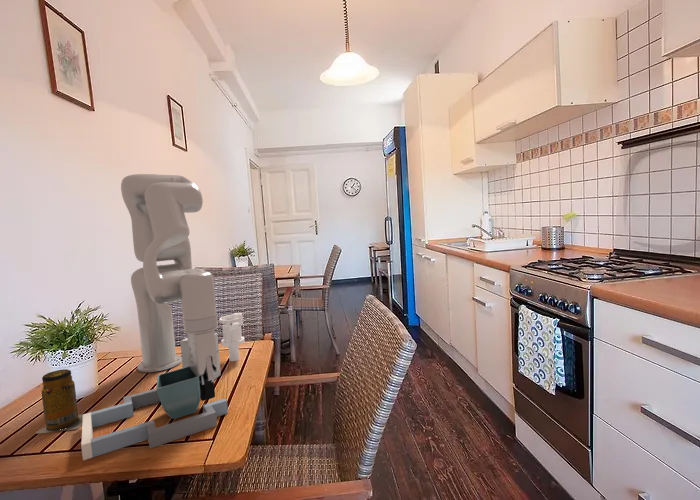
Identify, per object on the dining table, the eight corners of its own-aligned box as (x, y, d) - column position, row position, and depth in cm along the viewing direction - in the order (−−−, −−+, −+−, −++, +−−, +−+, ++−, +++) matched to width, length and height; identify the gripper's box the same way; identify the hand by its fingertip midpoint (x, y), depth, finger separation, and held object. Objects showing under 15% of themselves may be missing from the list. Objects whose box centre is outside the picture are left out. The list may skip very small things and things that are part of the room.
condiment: (57, 417, 91) (51, 368, 90) (94, 414, 92) (89, 365, 91) (35, 434, 84) (28, 381, 83) (76, 430, 84) (69, 377, 83)
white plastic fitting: (242, 363, 119) (238, 316, 118) (219, 364, 120) (215, 317, 118) (248, 355, 126) (245, 310, 125) (227, 356, 127) (223, 311, 125)
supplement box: (207, 386, 104) (203, 340, 103) (183, 385, 105) (178, 340, 104) (221, 375, 111) (218, 332, 110) (198, 374, 112) (195, 332, 111)
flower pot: (163, 427, 84) (155, 388, 83) (164, 410, 92) (157, 374, 91) (205, 413, 87) (198, 376, 86) (202, 398, 95) (196, 363, 94)
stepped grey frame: (84, 420, 89) (83, 407, 88) (207, 385, 104) (206, 375, 104) (82, 471, 70) (80, 455, 69) (233, 420, 85) (232, 407, 85)
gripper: (177, 321, 95) (184, 392, 97) (191, 333, 83) (199, 415, 84) (208, 315, 99) (214, 383, 101) (226, 326, 87) (232, 404, 89)
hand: (207, 397), depth 93 cm, fingers closed
